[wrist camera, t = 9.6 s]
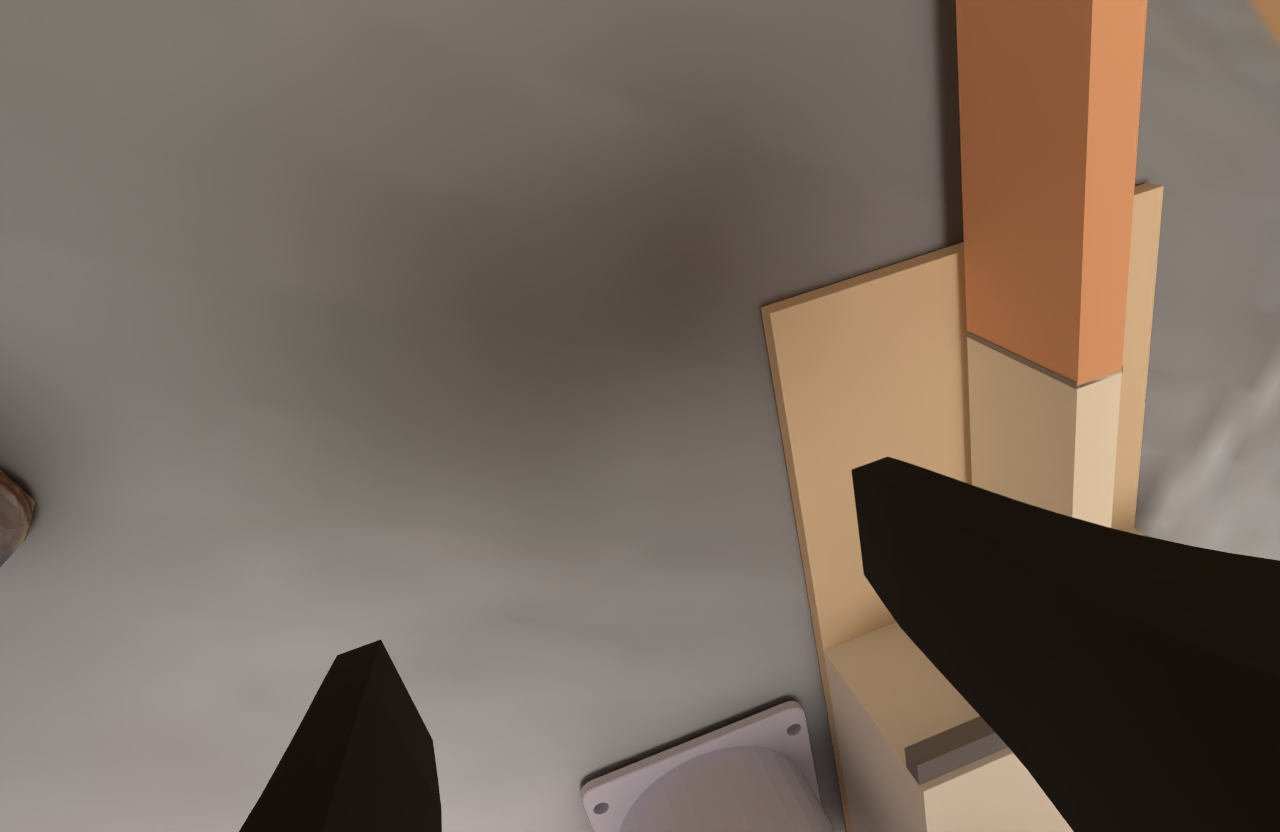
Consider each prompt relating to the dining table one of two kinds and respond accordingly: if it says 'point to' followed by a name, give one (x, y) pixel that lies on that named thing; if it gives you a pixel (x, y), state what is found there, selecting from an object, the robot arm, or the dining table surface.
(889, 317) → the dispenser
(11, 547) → the flask
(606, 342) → the dining table surface
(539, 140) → the dining table surface
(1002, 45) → the long copper stick
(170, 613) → the dining table surface
